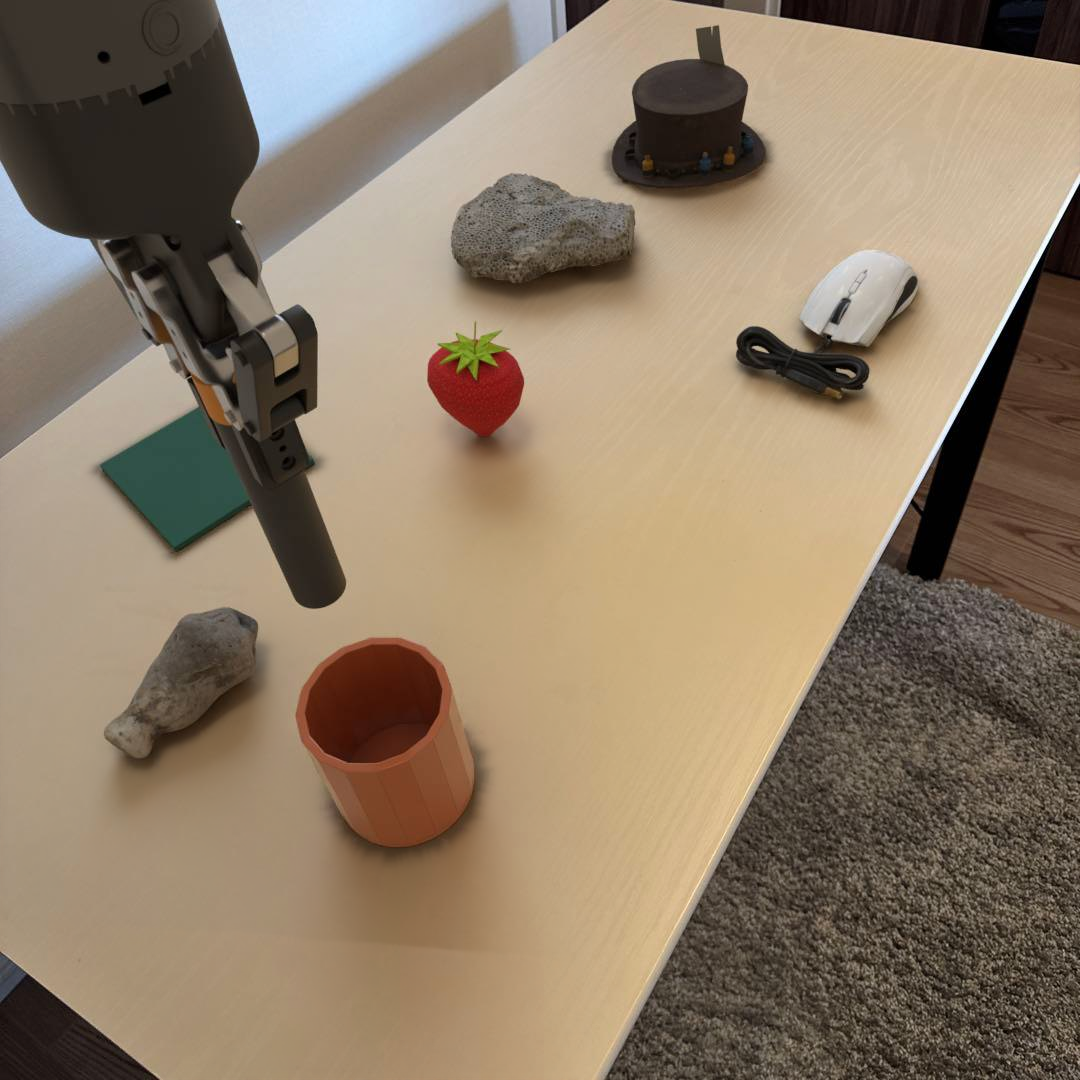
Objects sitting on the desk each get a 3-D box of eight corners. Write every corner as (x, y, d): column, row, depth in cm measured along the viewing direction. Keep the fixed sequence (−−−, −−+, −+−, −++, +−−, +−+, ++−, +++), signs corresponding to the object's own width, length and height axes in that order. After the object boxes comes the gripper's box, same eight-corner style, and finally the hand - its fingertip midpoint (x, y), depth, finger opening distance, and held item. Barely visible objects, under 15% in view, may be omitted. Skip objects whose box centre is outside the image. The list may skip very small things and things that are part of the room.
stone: (136, 787, 62) (203, 745, 57) (67, 726, 60) (129, 678, 56) (226, 679, 69) (291, 635, 65) (167, 623, 68) (229, 574, 63)
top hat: (785, 184, 96) (796, 74, 88) (628, 209, 95) (625, 101, 87) (741, 108, 105) (748, 3, 97) (599, 131, 105) (594, 27, 97)
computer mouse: (947, 284, 84) (957, 242, 81) (849, 415, 75) (857, 374, 72) (834, 250, 88) (840, 209, 85) (729, 370, 80) (732, 329, 77)
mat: (176, 552, 72) (173, 547, 72) (101, 469, 79) (99, 464, 78) (315, 463, 77) (313, 458, 77) (234, 391, 83) (232, 387, 83)
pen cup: (392, 876, 56) (355, 803, 49) (312, 781, 60) (267, 701, 53) (502, 782, 59) (482, 700, 52) (418, 697, 63) (389, 611, 56)
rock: (630, 301, 86) (629, 250, 83) (444, 303, 88) (435, 253, 85) (638, 203, 96) (637, 154, 92) (469, 207, 98) (462, 159, 94)
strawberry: (465, 394, 81) (445, 289, 73) (546, 423, 78) (534, 317, 70) (422, 441, 78) (396, 337, 70) (505, 473, 75) (488, 368, 67)
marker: (311, 619, 48) (212, 397, 37) (281, 587, 49) (177, 364, 39) (358, 587, 49) (274, 361, 38) (327, 556, 50) (238, 330, 40)
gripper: (-124, 11, 31) (108, 422, 44) (66, 166, 24) (277, 603, 37) (98, -68, 34) (254, 340, 47) (329, 48, 27) (438, 493, 40)
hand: (263, 454), depth 42 cm, fingers closed on marker, 2 cm apart
